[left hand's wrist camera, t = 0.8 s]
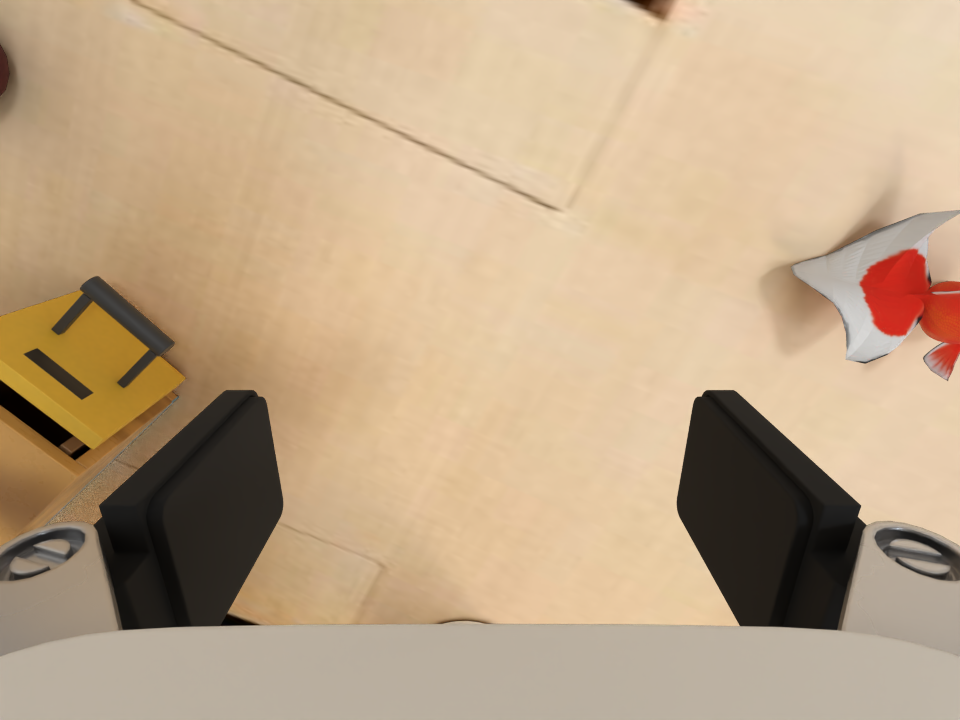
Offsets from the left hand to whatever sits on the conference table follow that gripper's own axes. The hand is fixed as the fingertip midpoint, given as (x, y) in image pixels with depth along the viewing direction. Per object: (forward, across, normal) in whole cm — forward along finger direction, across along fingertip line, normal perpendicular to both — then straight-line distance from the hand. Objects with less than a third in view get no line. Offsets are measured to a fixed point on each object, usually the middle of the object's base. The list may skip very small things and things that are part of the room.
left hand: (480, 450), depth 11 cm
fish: (+29, +30, -4) cm, 42 cm away
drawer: (+28, -32, -12) cm, 45 cm away
